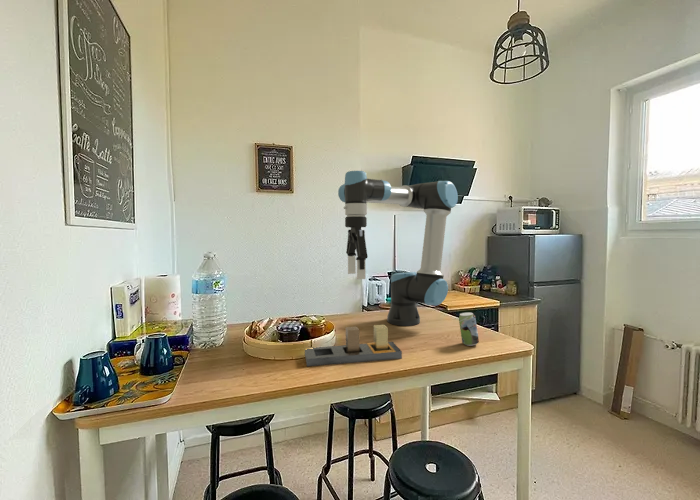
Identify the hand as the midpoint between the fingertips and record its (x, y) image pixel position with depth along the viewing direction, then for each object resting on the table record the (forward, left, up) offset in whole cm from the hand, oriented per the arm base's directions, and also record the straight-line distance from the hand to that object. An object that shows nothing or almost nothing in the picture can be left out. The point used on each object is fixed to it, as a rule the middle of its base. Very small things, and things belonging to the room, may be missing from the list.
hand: (356, 276), depth 123 cm
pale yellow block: (+5, +7, -27) cm, 29 cm away
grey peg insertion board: (+5, -3, -27) cm, 28 cm away
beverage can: (+2, +43, -27) cm, 51 cm away
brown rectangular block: (+5, -3, -27) cm, 28 cm away
